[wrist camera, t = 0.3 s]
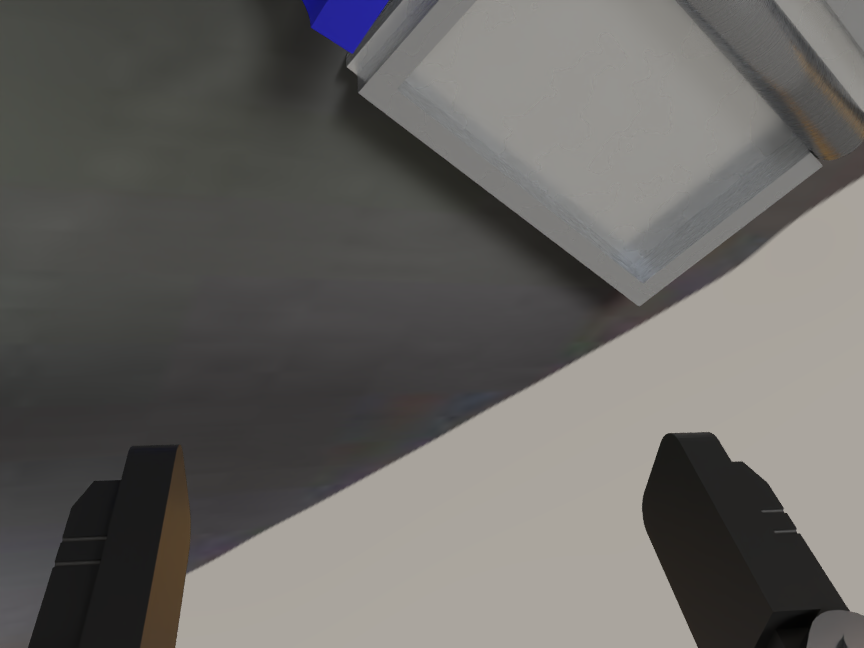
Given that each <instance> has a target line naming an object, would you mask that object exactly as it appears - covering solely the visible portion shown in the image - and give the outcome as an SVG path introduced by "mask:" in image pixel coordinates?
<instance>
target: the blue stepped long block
mask: <svg viewBox="0 0 864 648" xmlns="http://www.w3.org/2000/svg"><path fill="white" fill-rule="evenodd" d="M302 1H303V3H304V5H305V7H306V9H307V12H308V14H309V18H310V24H311V28H312V29H314V30H316V31H317V32H319V33H320V34H322V35H323V36H325V37H327V38H328V39H330V40H331V41H333V42H334V43H336V44H338V45H339V46H341V47H342V48H344V49H345V50H347V51H348V52H350V53H352V54H353V53H354V51H355V50H356V48H357V47H358V45H359V44H360V42H361V41H362V39H363V38H364V36H365V35H366V33H367V32H368V31H369V29H370V28H371V26H372V25H373V23H374V22H375V20H376V19H377V17H378V16H379V14H380V13H381V11H382V10H383V8H384V7H385V5H386V4H387V2H388V1H389V0H302Z"/></svg>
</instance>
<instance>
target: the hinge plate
mask: <svg viewBox="0 0 864 648" xmlns="http://www.w3.org/2000/svg"><path fill="white" fill-rule="evenodd" d="M346 65H347V68H349V69H350V70H351V71H353V72H354V73H355V74H356V75H357V83H358V93H359V94H360V95H362V96H363V97H364V98H365V99H367V100H368V101H369V102H371V103H372V104H373V105H375V106H376V107H377V108H379V109H380V110H381V111H383V112H384V113H385V114H386V115H388V116H389V117H390V118H392V119H393V120H394V121H396V122H397V123H398V124H400V125H401V126H402V127H404V128H405V129H406V130H408V131H409V132H410V133H411V134H413V135H414V136H415V137H417V138H418V139H419V140H421V141H422V142H423V143H425V144H426V145H427V146H429V147H430V148H431V149H433V150H434V151H435V152H436V153H438V154H439V155H440V156H442V157H443V158H444V159H446V160H447V161H448V162H450V163H451V164H452V165H454V166H455V167H456V168H458V169H459V170H460V171H461V172H463V173H464V174H465V175H467V176H468V177H469V178H471V179H472V180H473V181H475V182H476V183H477V184H479V185H480V186H481V187H482V188H484V189H485V190H486V191H488V192H489V193H490V194H492V195H493V196H494V197H496V198H497V199H498V200H500V201H501V202H502V203H504V204H505V205H506V206H507V207H509V208H510V209H511V210H513V211H514V212H515V213H517V214H518V215H519V216H521V217H522V218H523V219H525V220H526V221H527V222H529V223H530V224H531V225H532V226H534V227H535V228H536V229H538V230H539V231H540V232H542V233H543V234H544V235H546V236H547V237H548V238H550V239H551V240H552V241H554V242H555V243H556V244H557V245H559V246H560V247H561V248H563V249H564V250H565V251H567V252H568V253H569V254H571V255H572V256H573V257H575V258H576V259H577V260H578V261H580V262H581V263H582V264H584V265H585V266H586V267H588V268H589V269H590V270H592V271H593V272H594V273H596V274H597V275H598V276H600V277H601V278H602V279H603V280H605V281H606V282H607V283H609V284H610V285H611V286H613V287H614V288H615V289H617V290H618V291H619V292H621V293H622V294H623V295H625V296H626V297H627V298H628V299H630V300H631V301H632V302H634V303H635V304H636V305H638V306H640V305H642V304H643V303H644V302H646V301H647V300H648V299H650V298H651V297H652V296H654V295H655V294H656V293H657V292H659V291H660V290H661V289H663V288H664V287H665V286H667V285H668V284H669V283H671V282H672V281H673V280H674V279H676V278H677V277H678V276H680V275H681V274H682V273H684V272H685V271H686V270H687V269H689V268H690V267H691V266H693V265H694V264H695V263H697V262H698V261H699V260H701V259H702V258H703V257H704V256H706V255H707V254H708V253H710V252H711V251H712V250H714V249H715V248H716V247H718V246H719V245H720V244H721V243H723V242H724V241H725V240H727V239H728V238H729V237H731V236H732V235H733V234H735V233H736V232H737V231H738V230H740V229H741V228H742V227H744V226H745V225H746V224H748V223H749V222H750V221H751V220H753V219H754V218H755V217H757V216H758V215H759V214H761V213H762V212H763V211H765V210H766V209H767V208H768V207H770V206H771V205H772V204H774V203H775V202H776V201H778V200H779V199H780V198H782V197H783V196H784V195H785V194H787V193H788V192H789V191H791V190H792V189H793V188H795V187H796V186H797V185H799V184H800V183H801V182H802V181H804V180H805V179H806V178H808V177H809V176H810V175H812V174H813V173H814V172H816V171H817V170H818V169H819V168H821V167H822V164H821V163H820V162H819V161H818V160H817V159H820V160H825V161H829V160H835V159H839V158H841V157H843V156H846V155H847V154H849V153H851V152H852V151H853V150H855V149H856V148H857V147H858V146H859V145H860V144H861V143H862V142H863V140H864V0H392V2H391V3H390V4H389V5H388V6H387V7H386V9H385V10H384V11H383V12H382V13H381V15H380V16H379V17H378V18H377V19H376V21H375V22H374V23H373V25H372V26H371V28H370V29H369V31H368V32H367V33H366V35H365V36H364V38H363V39H362V41H361V42H360V44H359V45H358V47H357V48H356V50H355V51H354V53H353V54H352V53H350V52H349V53H348V54H347V55H346ZM816 158H817V159H816Z"/></svg>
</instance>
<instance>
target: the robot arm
mask: <svg viewBox="0 0 864 648" xmlns="http://www.w3.org/2000/svg"><path fill="white" fill-rule="evenodd" d="M642 512H643V520H644V525H645V528H646V531H647V534H648V536H649V538H650V540H651V543H652V545H653V547H654V549H655V552H656V554H657V556H658V558H659V560H660V563H661V565H662V567H663V570H664V572H665V574H666V576H667V579H668V581H669V583H670V586H671V588H672V590H673V592H674V595H675V597H676V599H677V601H678V603H679V606H680V608H681V610H682V613H683V615H684V617H685V619H686V621H687V624H688V626H689V628H690V631H691V633H692V635H693V637H694V639H695V642H696V644H697V646H698V648H864V616H863V615H860V614H858V613H854V612H850V610H849V609H848V608H847V607H846V605H845V603H844V602H843V600H842V599H841V597H840V595H839V594H838V592H837V591H836V589H835V588H834V586H833V584H832V583H831V581H830V580H829V578H828V577H827V575H826V574H825V572H824V570H823V569H822V567H821V566H820V564H819V563H818V561H817V560H816V558H815V556H814V555H813V553H812V552H811V550H810V548H809V547H808V546H807V544H806V542H805V541H804V539H803V538H802V536H801V534H797V532H796V527H795V525H794V524H793V522H792V520H791V519H790V517H789V516H788V514H787V513H784V511H783V506H782V505H781V503H780V502H779V500H778V498H777V497H776V495H775V494H774V492H773V491H772V489H771V488H770V486H769V484H768V483H767V482H766V481H764V480H763V479H762V478H761V477H760V476H759V475H758V474H756V473H755V472H754V471H753V470H752V469H751V468H749V467H748V466H747V465H746V464H745V463H743V462H731V460H730V458H729V457H728V455H727V453H726V452H725V450H724V448H723V447H722V445H721V444H720V442H719V440H718V439H717V437H716V436H715V435H714V434H712V433H710V432H701V433H668V434H666V435H665V436H664V437H663V439H662V441H661V443H660V447H659V450H658V452H657V456H656V459H655V462H654V465H653V468H652V471H651V474H650V477H649V480H648V483H647V486H646V489H645V492H644V495H643V503H642ZM190 534H191V517H190V506H189V498H188V490H187V481H186V473H185V465H184V457H183V451H182V447H181V445H151V446H132V447H131V448H130V450H129V452H128V456H127V460H126V464H125V467H124V471H123V475H122V479H121V480H113V481H94V482H93V483H92V484H91V485H90V487H89V488H88V489H87V490H86V491H85V492H84V494H83V495H82V496H81V497H80V498H79V499H78V501H77V502H76V503H75V504H74V505H73V507H72V508H71V511H70V515H69V518H68V521H67V524H66V527H65V531H64V534H63V541H62V543H61V544H60V547H59V550H58V553H57V556H56V560H55V567H53V569H52V572H51V576H50V579H49V582H48V585H47V589H46V592H45V595H44V598H43V601H42V605H41V608H40V611H39V614H38V617H37V621H36V624H35V627H34V630H33V634H32V637H31V640H30V643H29V646H28V648H175V645H176V638H177V631H178V623H179V618H180V610H181V604H182V597H183V589H184V583H185V576H186V570H187V563H188V556H189V548H190Z"/></svg>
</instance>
